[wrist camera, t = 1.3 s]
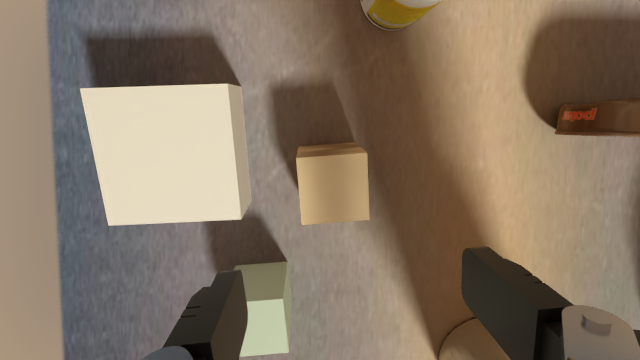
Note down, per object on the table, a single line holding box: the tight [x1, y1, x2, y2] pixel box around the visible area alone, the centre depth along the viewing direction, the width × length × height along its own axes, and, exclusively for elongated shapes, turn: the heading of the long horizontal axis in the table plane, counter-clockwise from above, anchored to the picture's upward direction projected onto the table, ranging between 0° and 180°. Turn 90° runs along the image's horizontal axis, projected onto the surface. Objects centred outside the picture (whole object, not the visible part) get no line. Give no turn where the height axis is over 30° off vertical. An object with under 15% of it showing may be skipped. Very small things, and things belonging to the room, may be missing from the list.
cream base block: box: [80, 84, 252, 226], centre depth 25 cm, size 10×10×5 cm
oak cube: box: [296, 142, 369, 225], centre depth 26 cm, size 5×5×6 cm
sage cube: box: [234, 261, 292, 357], centre depth 28 cm, size 5×5×6 cm
